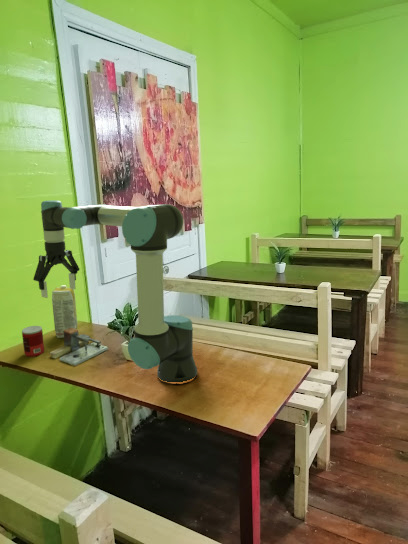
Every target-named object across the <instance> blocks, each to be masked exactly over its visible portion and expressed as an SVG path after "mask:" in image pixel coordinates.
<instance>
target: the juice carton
mask: <svg viewBox="0 0 408 544" xmlns="http://www.w3.org/2000/svg"><path fill="white" fill-rule="evenodd" d="M51 293H52V294H51V303H52V313H53V314H52V315H53V325H54V331H55V335H56V338H58V339H60V338H61V339H64V333H63V331H64V330H66V329H69V328H74V329H77V330H78V315H77V302H76V293H75V289H70V286H69V287H67V285H66V284H64V285H60V287H55V288H54V289H53V290H52V292H51Z"/></svg>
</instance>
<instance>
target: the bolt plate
mask: <svg viewBox="0 0 408 544" xmlns="http://www.w3.org/2000/svg"><path fill="white" fill-rule="evenodd" d="M108 350H109V347H108V346H106V345H104V344H101V343H100V344H99V346H97V343H95V342H92V343H88V344H87V351H85V345H84V346H82V347H80V348H79V349H76V350H74V351H71V352H69V353H66V354H64V355H62V356H60V357H59V361H60V362H63V363H66V364H69V365H71V366H73V367H76V366H77V365H81V364H83V363H84V362H86V361H88V360H90V359H92V358H94V357H96V356H99V354H101V353H104V352H106V351H108Z"/></svg>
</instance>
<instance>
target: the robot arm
mask: <svg viewBox="0 0 408 544" xmlns="http://www.w3.org/2000/svg"><path fill="white" fill-rule="evenodd" d="M40 203H41V205H40V206H41V208H40V209H41V211H40V214H41V221H42V222H41V223H42V230H43V232H42V233H43V240H44V250H45V253H46V254H45V255H41V254H40V255H39V256H38V262H37V266H36V270H35V273H34V276H33V279H32V280H33V281H35V282H38V288H39V290H40V293H41V298H45V299H48V298H49V295H48V286H47V284H48V283H47V281H46V278H47V277H48V275H49V273H50V272H51V269H52V268H53V267H54V266H58V265H60V264H62V265H63V266H64V267H65V268H66V269H67V271H68V284H69V287H70V289H74V290H77V289H76V287H77V286H76V280H77V275H76V274H78V272H79V271H80V267H79V265H78V263H77V262H76V259H75V258H74V255H73V251H72V250H69V249H66V241H65V238H66V237H65V228H67V229H72V230H74V229H76V230H79V229H82V228H83V227H86V226H87V227H88V226H94V225H99V226H113V227H121V230H122V236H123V238H125V242H126V243H128V244H129V245H130V250H131V251H132V252H133V253H135V267H136V271H135V272H136V288H137V289H136V290H137V291H136V292H137V294H136V295H137V316H138V317H137V318H138V323H137V324H136V325H135V326H134V329H133V330H134V331H133V332H134V335H133V336H134V338H131V339H130V340H129V342H128V344H127V351H128V355H129V357H130V359H131V360H132V361H133V362H134V365H136V366H137V367H139V368H140V369H144V370H150V369H153V368H154V367H158V368H157V378H158V377H159V378H160V379H161V380H163V381H167V382H183V381H187V380H190V379H192V378H194V377H195V376H196V375H197V376H198V367H197V365H196V362H195V359H194V356H193V355H194V354H193V347H194V346H193V343H194V341H193V338H194V336H193V331H194V328H193V321H192V320H191V318H189V317H187V316H182V315H176V314H175V315H172V314H171V315H170V314H169V315H165V307H164V306H165V304H164V303H165V299H164V294H165V293H164V265H163V264H164V262H163V260H164V259H163V257H164V256H163V254H164V252H166V250H167V249H168V240H170V239H172V238H175V237H176V236H178V235H179V234H180V232H181V231H182V229H183V226H184V216H183V214H182V212H181V210H180V209H179V208H177V206H175V205H173V204H169V203H164V204H163V203H161V204H153V205H143V206H142V205H140V206H124V205H123V206H119V205H107V204H96V205H95V204H93V205H83V206H82V205H79V206H72V207H71V206H66V207H65V206H63V204H62V202H61V201H60V200H56V199H55V200H53V199H52V200H44V201H42V202H40ZM65 257H66V258H67V259H66V258H65Z"/></svg>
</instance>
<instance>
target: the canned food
mask: <svg viewBox="0 0 408 544" xmlns="http://www.w3.org/2000/svg"><path fill="white" fill-rule="evenodd" d="M21 335H22V336H21V337H22V345H23V351H24V355H25V356H26V357H27V358H33V357H34V358H35V357H39V356H41V355H43V353H44V352H45V345H44V335H43V327H42V326H40V325H31V326H30V325H29V326H26V327H24V328H23V329H22V330H21Z"/></svg>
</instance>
